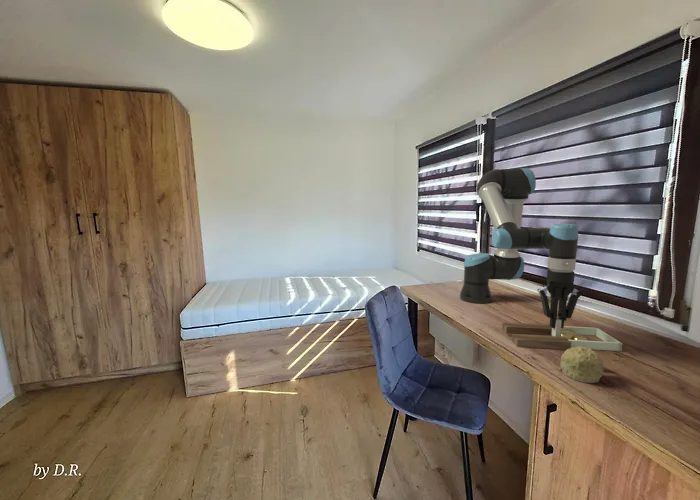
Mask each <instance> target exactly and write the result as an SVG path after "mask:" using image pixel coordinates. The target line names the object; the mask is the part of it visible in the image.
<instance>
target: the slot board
mask: <svg viewBox="0 0 700 500" xmlns="http://www.w3.org/2000/svg"><path fill="white" fill-rule="evenodd" d="M501 330H503V331H504V333H505V334H506V335H507V336H508V337H509V339H510V340H511V341H512V343H513V344H514V345H515V347H517V348H518V347H519V348H532V349H533V348H535V349H553V350H564V351H566V350H567V349H569V348H571V342H570V341H569V340H568V339H567V338H565V337H561V336H552V327H550V323H549V324H548V323H547V324H546V323H527V322H526V323H525V322H506V321H505V322H504V321H503V322H502V329H501Z"/></svg>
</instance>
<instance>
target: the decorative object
mask: <svg viewBox="0 0 700 500" xmlns="http://www.w3.org/2000/svg"><path fill="white" fill-rule="evenodd" d="M560 371H561V373H562V374H563V375H565V376H566V377H568V378H570V379H571V380H574V381H577V382H581V383H586V384H595V383H599V382H600V379H601V377H603V373H604V361H603V359H602V358H601V357H600V356H599V354H598V353H597V351H594V350H593V349H589V348H586V347H581V346H578V347H572V348H569V349H567V350H564V352H562V354H561V357H560Z"/></svg>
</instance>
